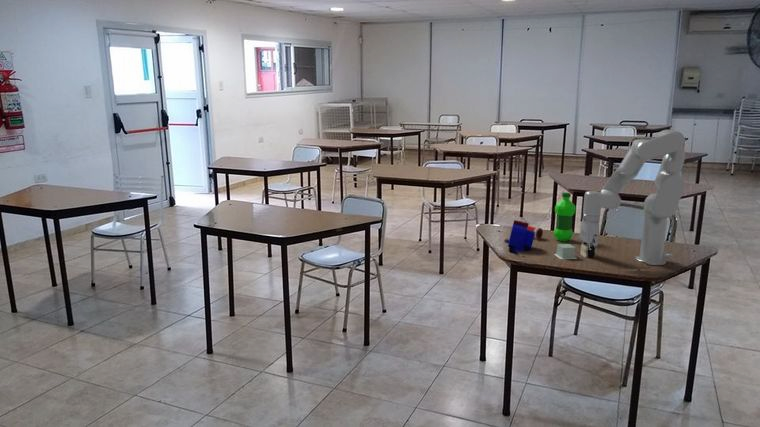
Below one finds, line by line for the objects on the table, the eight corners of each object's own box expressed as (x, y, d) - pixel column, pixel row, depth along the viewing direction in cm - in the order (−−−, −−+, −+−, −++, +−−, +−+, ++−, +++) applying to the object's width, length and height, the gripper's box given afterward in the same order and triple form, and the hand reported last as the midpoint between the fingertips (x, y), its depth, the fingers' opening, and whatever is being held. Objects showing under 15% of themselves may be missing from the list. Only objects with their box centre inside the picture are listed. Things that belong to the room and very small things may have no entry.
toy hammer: (514, 245, 286) (515, 233, 285) (497, 240, 295) (497, 228, 294) (543, 238, 300) (543, 227, 298) (525, 234, 309) (525, 223, 307)
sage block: (568, 254, 266) (569, 244, 265) (574, 258, 260) (575, 247, 259) (556, 254, 265) (557, 244, 264) (562, 258, 260) (562, 247, 258)
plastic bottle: (575, 243, 290) (579, 195, 285) (554, 242, 291) (558, 194, 286) (570, 238, 300) (574, 191, 295) (550, 237, 301) (553, 191, 296)
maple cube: (590, 254, 267) (591, 244, 266) (595, 257, 262) (596, 246, 261) (580, 254, 266) (581, 244, 265) (585, 257, 261) (586, 247, 260)
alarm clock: (508, 246, 284) (509, 217, 281) (533, 248, 281) (535, 218, 278) (507, 252, 272) (509, 222, 269) (533, 254, 269) (535, 224, 266)
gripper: (575, 214, 268) (571, 251, 272) (592, 222, 252) (589, 261, 255) (589, 213, 269) (586, 250, 273) (608, 222, 253) (604, 261, 256)
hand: (587, 255), depth 264 cm, fingers closed on maple cube, 4 cm apart
